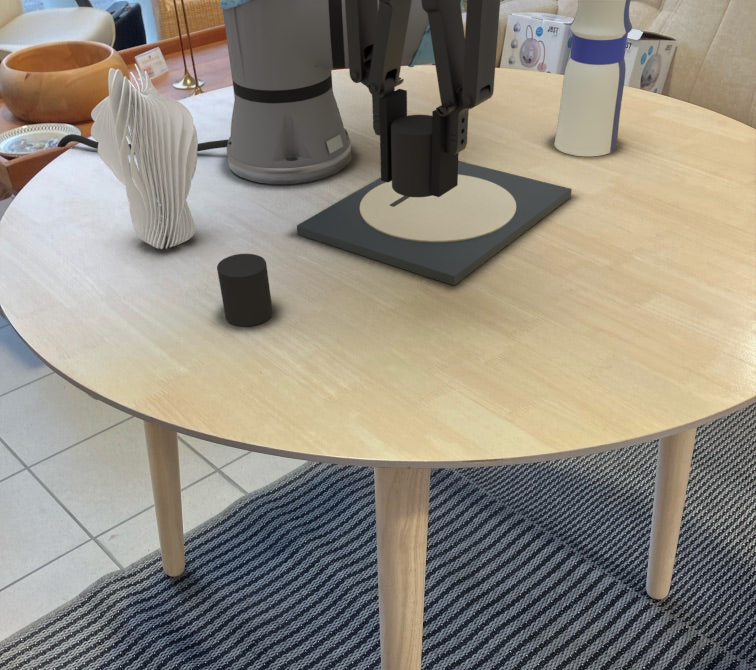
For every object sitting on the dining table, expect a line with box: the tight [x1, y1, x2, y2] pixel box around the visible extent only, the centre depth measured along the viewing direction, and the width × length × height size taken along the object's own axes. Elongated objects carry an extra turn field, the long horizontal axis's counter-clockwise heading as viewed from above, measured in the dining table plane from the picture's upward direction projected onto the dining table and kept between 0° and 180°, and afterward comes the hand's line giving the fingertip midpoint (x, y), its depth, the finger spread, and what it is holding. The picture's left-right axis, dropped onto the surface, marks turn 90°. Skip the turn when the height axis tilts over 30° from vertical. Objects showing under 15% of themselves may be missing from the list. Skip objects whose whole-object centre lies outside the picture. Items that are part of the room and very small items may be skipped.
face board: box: [296, 160, 573, 286], centre depth 93 cm, size 20×24×1 cm
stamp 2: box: [391, 114, 433, 197], centre depth 69 cm, size 4×4×5 cm
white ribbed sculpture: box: [90, 63, 199, 250], centre depth 85 cm, size 8×8×18 cm
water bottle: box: [553, 0, 633, 157], centre depth 99 cm, size 8×9×25 cm
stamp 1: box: [216, 253, 273, 327], centre depth 78 cm, size 4×4×5 cm
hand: (418, 182), depth 71 cm, fingers closed on stamp 2, 4 cm apart
